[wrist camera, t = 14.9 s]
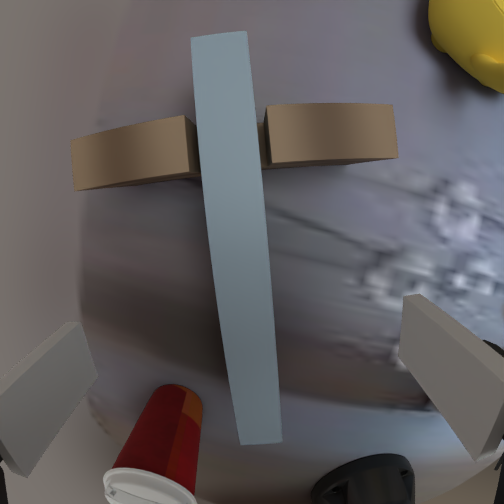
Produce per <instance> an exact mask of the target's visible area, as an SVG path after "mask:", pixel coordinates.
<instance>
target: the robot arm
mask: <svg viewBox="0 0 504 504" xmlns="http://www.w3.org/2000/svg"><path fill="white" fill-rule="evenodd" d="M398 357H399V358H400V359H401V361H402V362H403V363H404V365H405V366H406V367H407V369H408V370H409V371H410V373H411V374H412V375H413V376H414V378H415V379H416V380H417V382H418V383H419V384H420V386H421V387H422V388H423V390H424V391H425V392H426V394H427V395H428V396H429V398H430V399H431V400H432V402H433V403H434V405H435V406H436V407H437V409H438V410H439V411H440V413H441V414H442V416H443V417H444V418H445V420H446V421H447V422H448V424H449V425H450V427H451V428H452V429H453V431H454V432H455V434H456V435H457V436H458V438H459V439H460V441H461V442H462V444H463V445H464V446H465V448H466V449H467V451H468V452H469V454H470V455H471V457H472V458H473V460H474V461H475V463H476V462H478V461H480V460H482V459H484V458H486V457H488V456H490V455H492V454H494V453H495V452H496V450H497V448H498V446H499V444H500V442H501V440H502V439H503V440H504V350H503V349H501V348H500V347H499V346H497V345H496V344H493V343H491V342H488V341H486V340H481V339H480V338H478V337H477V336H476V335H475V334H473V333H472V332H471V331H469V330H468V329H467V328H465V327H464V326H463V325H462V324H460V323H459V322H458V321H456V320H455V319H454V318H452V317H451V316H450V315H448V314H447V313H446V312H444V311H443V310H442V309H440V308H439V307H437V306H436V305H435V304H433V303H432V302H431V301H429V300H428V299H427V298H425V297H424V296H422V295H421V294H414V295H408V296H404V297H403V312H402V324H401V334H400V344H399V352H398ZM97 378H98V374H97V371H96V368H95V365H94V362H93V359H92V356H91V353H90V350H89V347H88V344H87V340H86V337H85V334H84V330H83V327H82V323H81V322H66V323H65V324H64V325H62V326H61V327H60V328H59V329H58V330H56V331H55V332H54V333H53V334H52V335H50V336H49V337H48V338H47V339H46V340H45V341H43V342H42V343H41V344H40V345H38V346H37V347H36V348H35V349H34V350H33V351H31V352H30V353H29V354H28V355H27V356H26V357H24V358H23V359H22V360H21V361H20V362H19V363H17V365H15V366H14V367H13V368H12V369H11V370H9V371H8V372H7V373H6V374H5V375H4V376H3V377H2V378H0V462H1V461H2V460H4V462H5V463H6V464H7V466H8V467H9V469H10V470H11V471H12V472H13V473H16V474H18V475H21V476H23V477H25V478H28V476H29V475H30V473H31V472H32V470H33V469H34V467H35V466H36V464H37V463H38V461H39V460H40V458H41V457H42V455H43V454H44V452H45V451H46V449H47V448H48V447H49V445H50V443H51V442H52V441H53V439H54V438H55V436H56V435H57V434H58V432H59V430H60V429H61V428H62V426H63V425H64V424H65V422H66V421H67V419H68V418H69V416H70V415H71V414H72V412H73V411H74V410H75V408H76V407H77V405H78V404H79V403H80V401H81V399H82V398H83V397H84V396H85V394H86V393H87V392H88V390H89V389H90V387H91V386H92V385H93V383H94V382H95V381H96V379H97ZM501 464H502V467H501V472H500V478H499V482H498V487H497V492H496V496H495V500H494V504H504V452H503V454H502V456H501V458H500V460H499V461H498V463H497V465H496V467H495V470H498V468H499V466H500V465H501ZM311 499H312V504H415V475H414V471H413V469H412V467H411V465H410V463H409V461H408V460H407V459H406V458H404V457H402V456H399V455H394V454H383V455H376V456H371V457H366V458H363V459H359V460H356V461H354V462H351V463H348V464H346V465H344V466H342V467H340V468H338V469H336V470H334V471H332V472H331V473H329V474H328V475H326V476H325V477H324V478H322V479H321V480H320V481H319V482H318V483H317V484H316V485H315V487H314V488H313V490H312V493H311ZM0 504H8V500H7V492H6V485H5V478H4V472H3V469H2V468H1V466H0Z"/></svg>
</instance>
